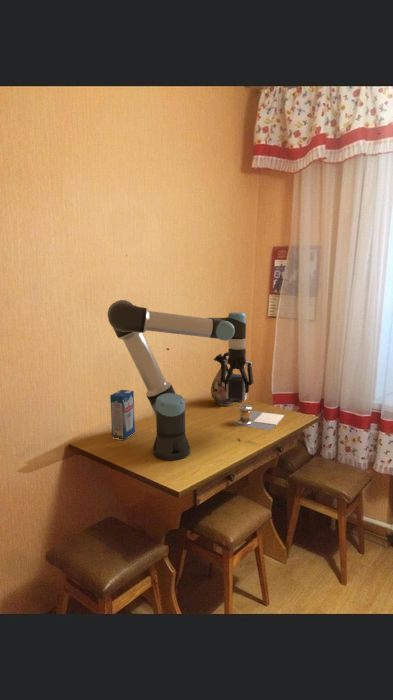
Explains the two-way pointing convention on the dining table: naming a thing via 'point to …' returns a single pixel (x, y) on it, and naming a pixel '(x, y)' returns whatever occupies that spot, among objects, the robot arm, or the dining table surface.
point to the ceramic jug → (220, 384)
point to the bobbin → (244, 414)
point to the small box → (235, 388)
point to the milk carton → (122, 414)
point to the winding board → (263, 420)
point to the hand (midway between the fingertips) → (236, 398)
